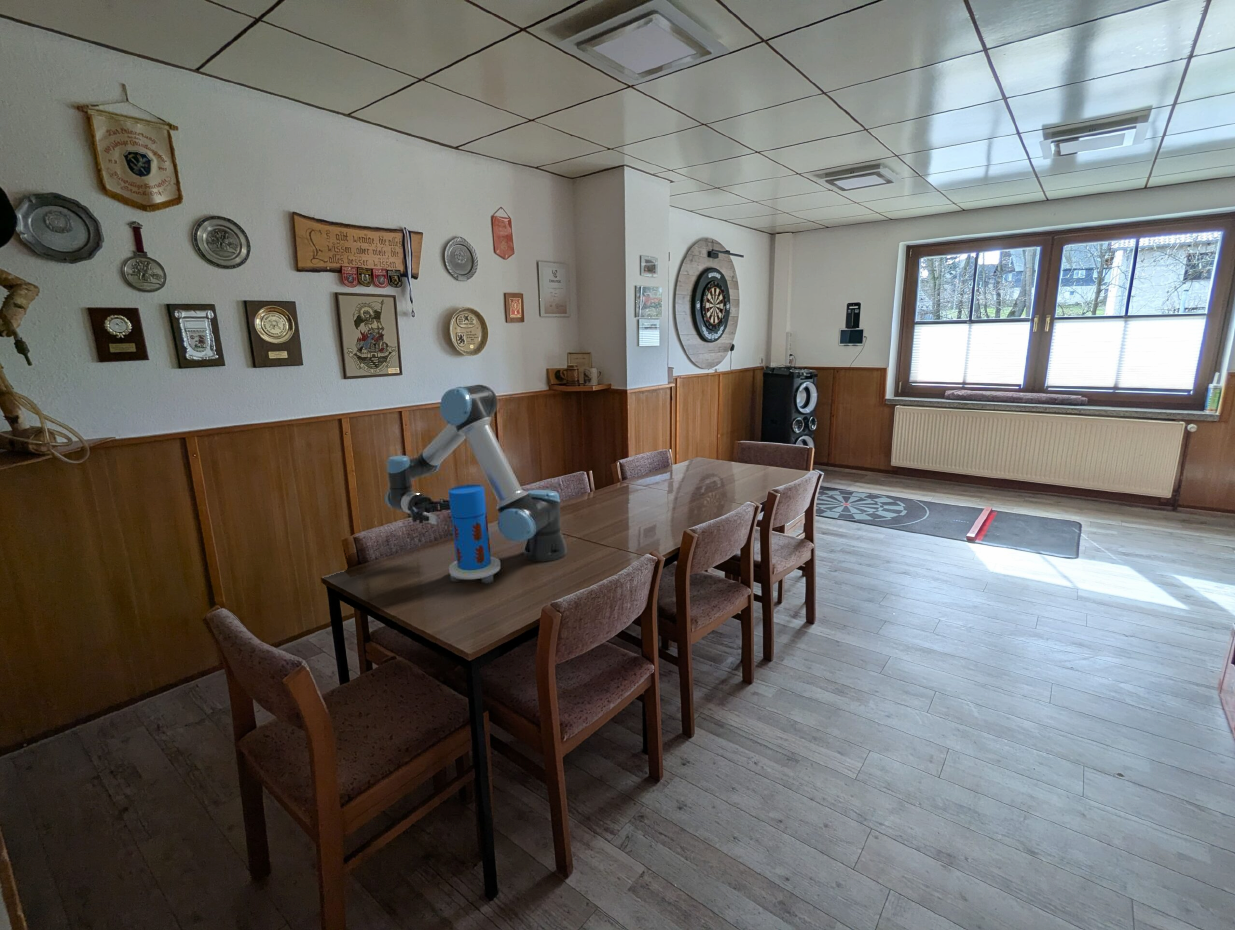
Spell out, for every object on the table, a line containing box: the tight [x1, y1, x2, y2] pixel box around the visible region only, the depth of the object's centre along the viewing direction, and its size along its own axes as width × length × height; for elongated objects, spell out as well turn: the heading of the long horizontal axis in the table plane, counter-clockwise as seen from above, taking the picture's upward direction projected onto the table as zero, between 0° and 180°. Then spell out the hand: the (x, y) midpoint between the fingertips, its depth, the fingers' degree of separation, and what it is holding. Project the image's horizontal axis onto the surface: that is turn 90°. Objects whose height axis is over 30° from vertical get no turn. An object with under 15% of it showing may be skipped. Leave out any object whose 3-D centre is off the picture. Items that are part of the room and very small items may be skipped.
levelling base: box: [448, 556, 501, 584], centre depth 184 cm, size 16×16×4 cm
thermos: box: [448, 483, 492, 570], centre depth 181 cm, size 11×11×25 cm
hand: (454, 515), depth 186 cm, fingers open, 13 cm apart
